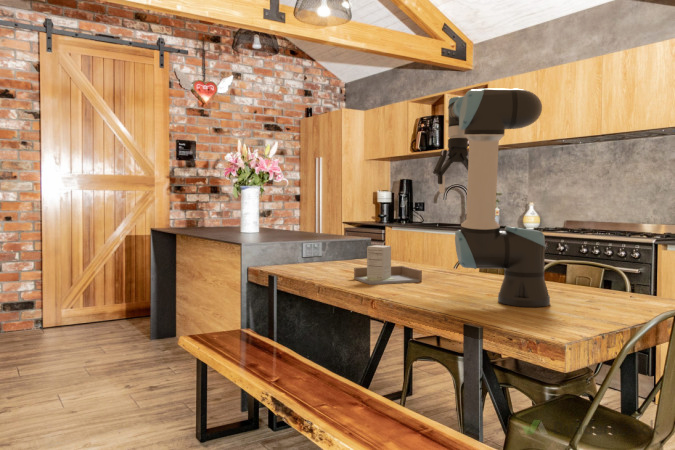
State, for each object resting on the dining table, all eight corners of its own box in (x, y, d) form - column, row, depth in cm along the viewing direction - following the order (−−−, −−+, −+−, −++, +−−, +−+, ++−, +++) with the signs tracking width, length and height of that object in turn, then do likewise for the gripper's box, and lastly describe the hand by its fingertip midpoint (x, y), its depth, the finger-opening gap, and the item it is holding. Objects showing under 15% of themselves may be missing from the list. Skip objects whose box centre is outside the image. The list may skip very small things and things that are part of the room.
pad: (395, 279, 207) (395, 279, 207) (371, 280, 203) (371, 280, 203) (384, 276, 216) (384, 275, 216) (361, 277, 213) (361, 276, 213)
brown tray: (421, 281, 208) (421, 270, 208) (370, 284, 200) (370, 272, 200) (402, 276, 223) (402, 265, 222) (354, 279, 215) (354, 267, 215)
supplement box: (374, 276, 215) (375, 244, 214) (391, 277, 211) (391, 245, 210) (366, 278, 208) (366, 246, 208) (383, 279, 205) (383, 247, 204)
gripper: (479, 140, 214) (478, 193, 215) (424, 137, 205) (424, 192, 206) (490, 138, 207) (489, 193, 208) (434, 135, 198) (434, 192, 199)
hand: (457, 193), depth 207 cm, fingers open, 13 cm apart
